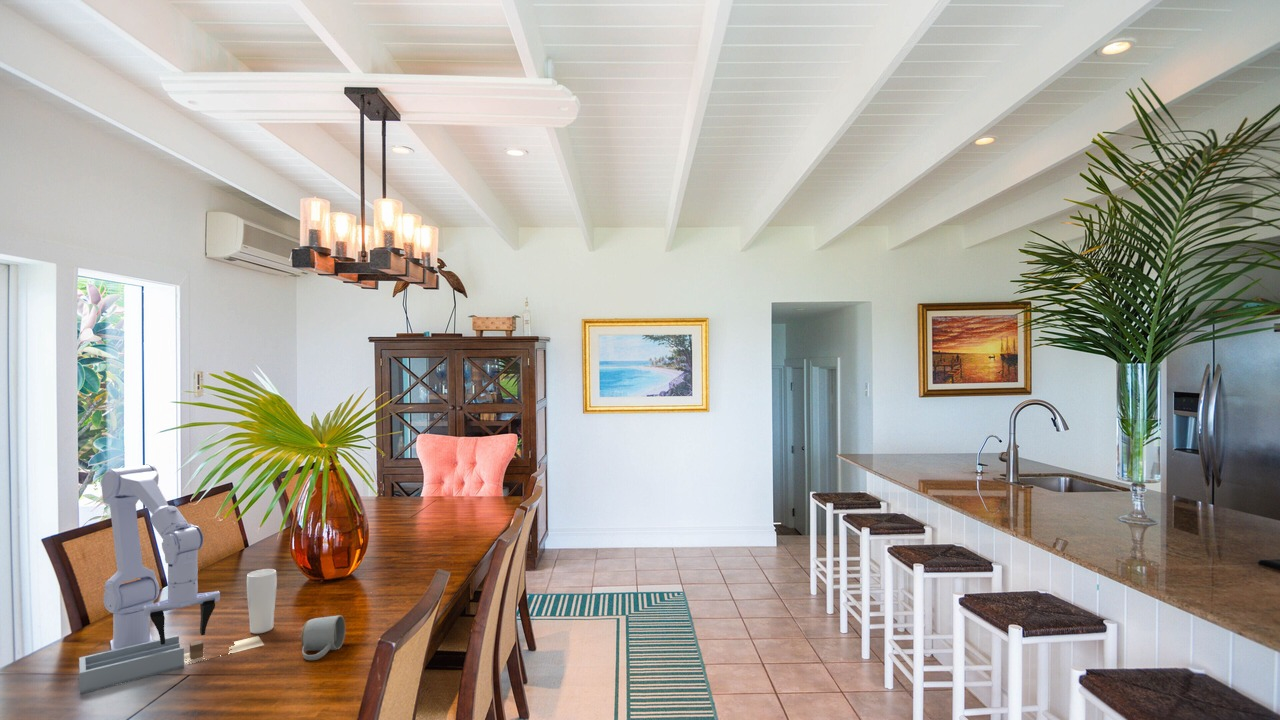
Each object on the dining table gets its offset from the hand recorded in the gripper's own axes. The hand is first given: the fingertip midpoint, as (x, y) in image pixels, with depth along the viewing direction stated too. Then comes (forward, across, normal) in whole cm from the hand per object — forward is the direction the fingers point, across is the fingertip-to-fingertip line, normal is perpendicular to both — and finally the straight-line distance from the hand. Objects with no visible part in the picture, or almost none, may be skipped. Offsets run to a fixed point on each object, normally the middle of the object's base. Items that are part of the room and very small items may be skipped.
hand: (182, 638), depth 152 cm
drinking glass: (+5, +18, +7) cm, 20 cm away
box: (+5, -9, 0) cm, 11 cm away
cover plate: (+6, +8, 0) cm, 10 cm away
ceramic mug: (+5, +26, -17) cm, 31 cm away
